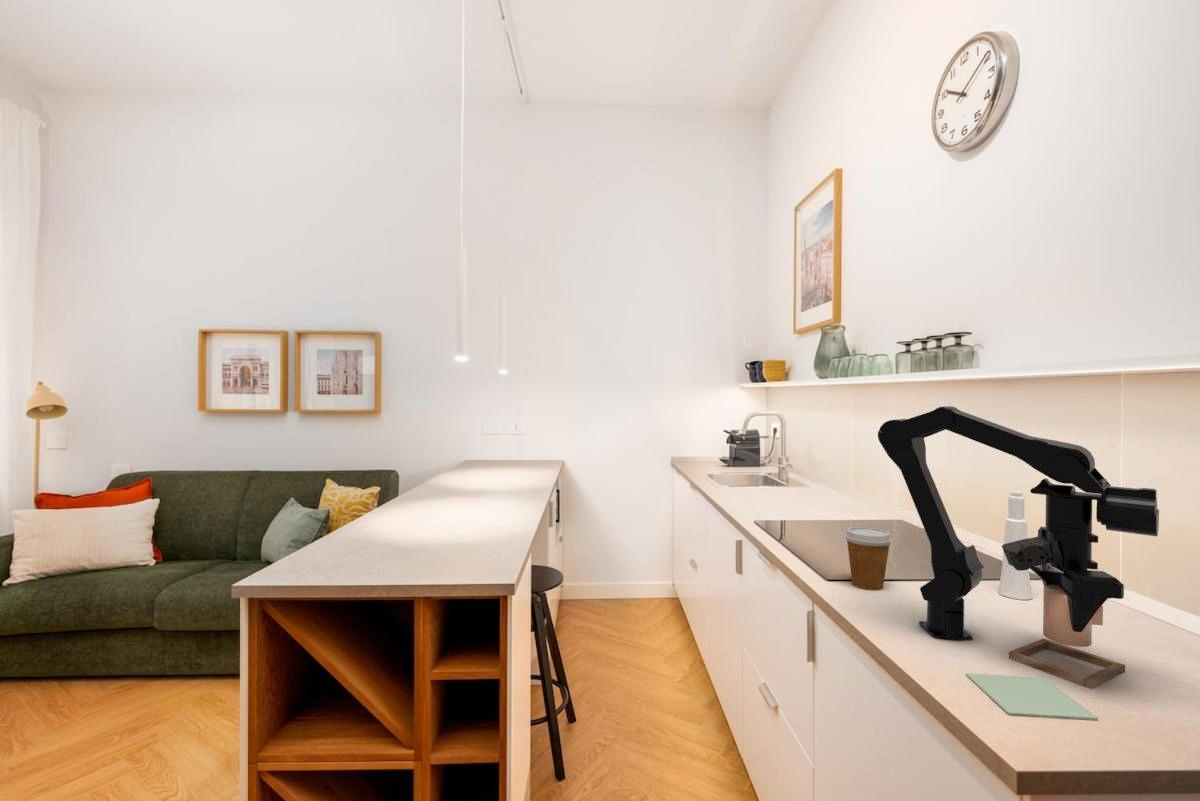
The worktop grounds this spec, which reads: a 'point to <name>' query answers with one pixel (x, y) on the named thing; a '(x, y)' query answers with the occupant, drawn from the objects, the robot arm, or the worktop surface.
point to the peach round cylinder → (1064, 619)
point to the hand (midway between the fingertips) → (1066, 623)
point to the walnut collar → (1090, 681)
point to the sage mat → (1029, 696)
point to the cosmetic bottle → (1015, 529)
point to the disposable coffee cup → (868, 556)
